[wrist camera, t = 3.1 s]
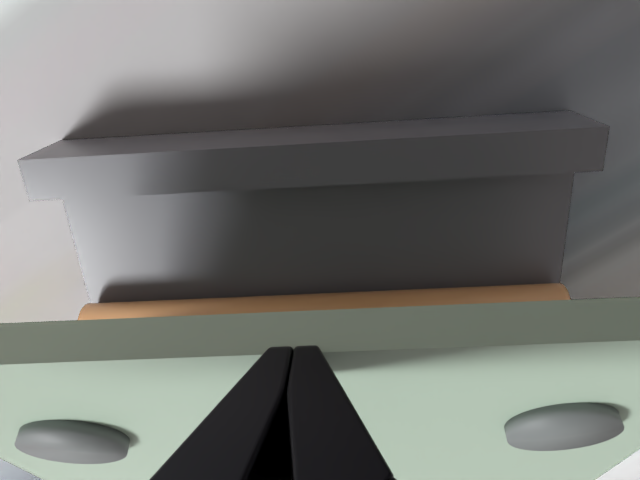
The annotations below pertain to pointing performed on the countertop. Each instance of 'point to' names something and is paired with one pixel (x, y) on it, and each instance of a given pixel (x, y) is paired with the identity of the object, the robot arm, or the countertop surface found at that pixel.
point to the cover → (354, 376)
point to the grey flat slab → (321, 214)
